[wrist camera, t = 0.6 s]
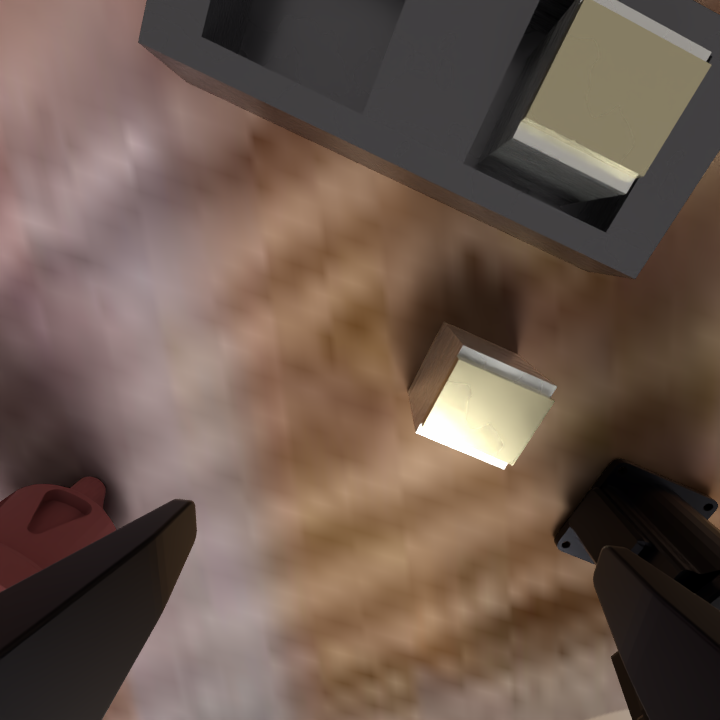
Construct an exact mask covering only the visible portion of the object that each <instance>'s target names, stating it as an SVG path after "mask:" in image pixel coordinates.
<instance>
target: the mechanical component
mask: <svg viewBox="0 0 720 720" xmlns="http://www.w3.org/2000/svg"><path fill="white" fill-rule="evenodd" d="M105 492H106V490H105V486H104V484H103V483H102V482H101V481H100V480H99V479H97V478H94V477H89V476H88V477H84V478H82V479H80V480H79V481H78V482H77V483H76V484H74V485H73V486H72V487H71V488H66V487H62V486H59V485H52V484H35V485H30V486H26V487H23V488H21V489H19V490H17V491H15V492H14V493H12V494H11V495H9V496H8V497H6V498H5V499H4V500H2V501H1V502H0V592H1V591H3V590H5V589H7V588H9V587H11V586H13V585H14V584H16V583H18V582H20V581H22V580H24V579H26V578H28V577H30V576H31V575H33V574H35V573H37V572H39V571H41V570H43V569H45V568H46V567H48V566H50V565H52V564H54V563H56V562H58V561H60V560H61V559H63V558H65V557H67V556H69V555H71V554H73V553H75V552H76V551H78V550H80V549H82V548H84V547H86V546H88V545H90V544H91V543H93V542H95V541H97V540H99V539H101V538H103V537H104V536H106V535H108V534H110V533H112V532H114V531H116V528H115V526H114V524H113V522H112V521H111V519H110V518H109V517H108V515H107V514H106V513H105V511H104V510H103V503H104V497H105Z"/></svg>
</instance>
